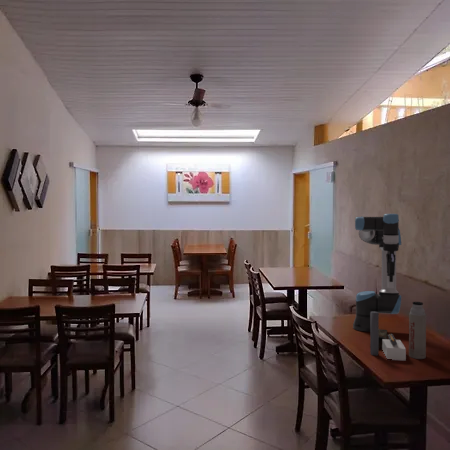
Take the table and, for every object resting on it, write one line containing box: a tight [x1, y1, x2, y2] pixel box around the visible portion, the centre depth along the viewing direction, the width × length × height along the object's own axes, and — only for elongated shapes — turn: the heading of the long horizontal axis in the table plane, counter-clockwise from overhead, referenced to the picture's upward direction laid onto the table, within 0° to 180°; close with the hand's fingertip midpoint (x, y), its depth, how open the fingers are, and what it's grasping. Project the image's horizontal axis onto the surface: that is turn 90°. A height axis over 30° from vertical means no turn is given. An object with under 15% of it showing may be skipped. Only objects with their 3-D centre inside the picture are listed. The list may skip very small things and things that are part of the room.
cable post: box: [369, 312, 380, 356], centre depth 234 cm, size 4×4×22 cm
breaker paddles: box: [387, 333, 397, 345], centre depth 233 cm, size 10×2×3 cm, turn 169°
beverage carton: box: [379, 328, 388, 350], centre depth 253 cm, size 8×19×7 cm, turn 156°
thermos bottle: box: [408, 301, 427, 360], centre depth 230 cm, size 8×8×28 cm
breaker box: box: [381, 338, 407, 362], centre depth 233 cm, size 15×9×6 cm, turn 169°
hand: (390, 287), depth 237 cm, fingers closed
